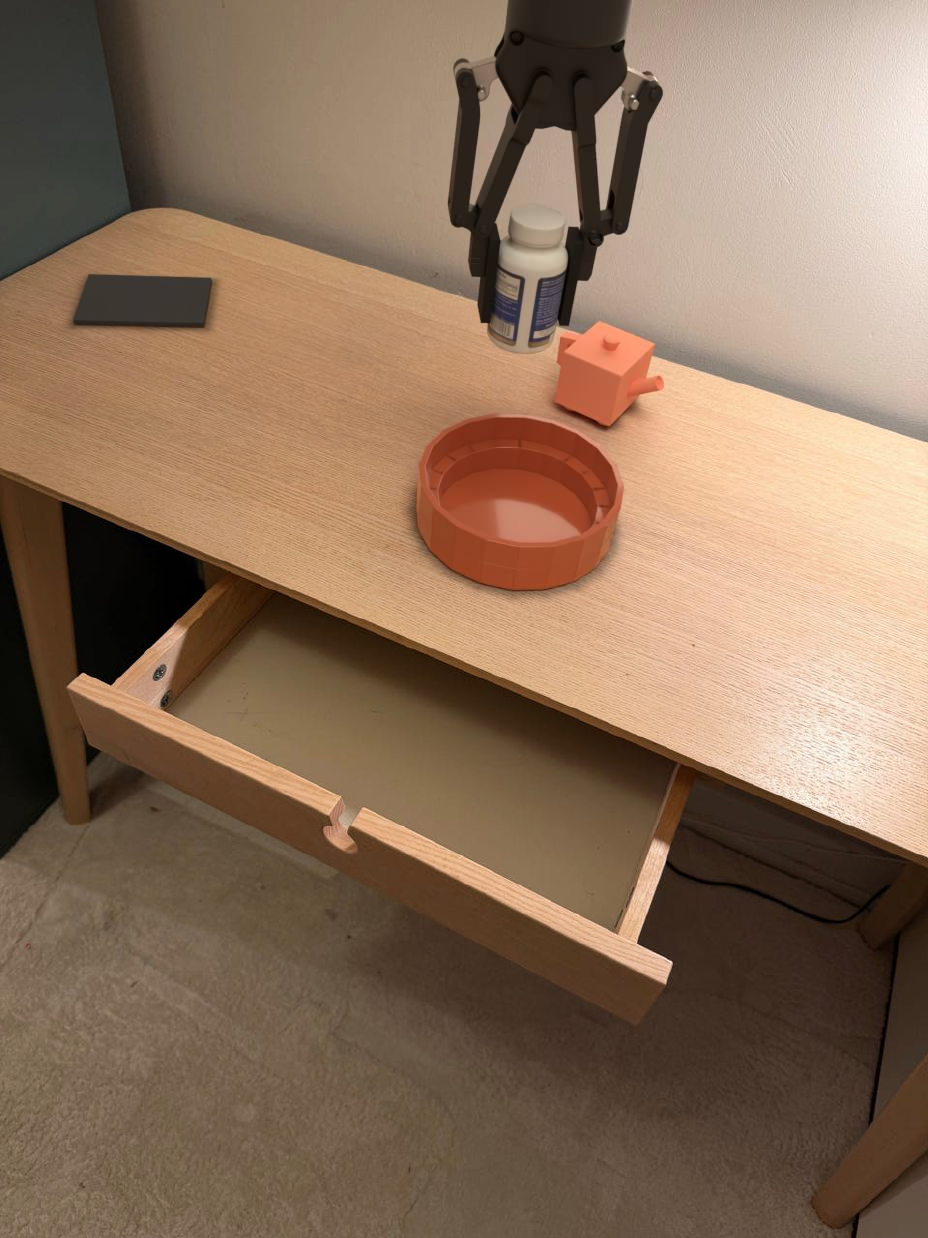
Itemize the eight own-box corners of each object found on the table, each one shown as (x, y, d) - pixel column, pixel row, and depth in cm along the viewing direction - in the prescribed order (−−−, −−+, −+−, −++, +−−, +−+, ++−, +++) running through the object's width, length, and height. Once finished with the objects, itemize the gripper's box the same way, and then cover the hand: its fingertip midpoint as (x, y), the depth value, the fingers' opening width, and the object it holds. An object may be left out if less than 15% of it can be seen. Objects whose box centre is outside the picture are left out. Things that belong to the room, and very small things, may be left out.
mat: (74, 324, 100) (72, 319, 100) (89, 278, 107) (88, 273, 106) (204, 327, 102) (203, 322, 102) (212, 281, 109) (211, 277, 108)
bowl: (423, 593, 78) (426, 547, 74) (411, 458, 90) (413, 412, 86) (629, 590, 80) (643, 546, 76) (590, 459, 92) (601, 414, 88)
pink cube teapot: (634, 446, 94) (653, 378, 88) (535, 401, 98) (547, 333, 92) (666, 411, 99) (686, 344, 92) (570, 370, 102) (584, 303, 96)
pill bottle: (550, 322, 74) (572, 201, 67) (555, 359, 70) (579, 236, 63) (484, 317, 74) (499, 195, 66) (486, 354, 70) (501, 229, 63)
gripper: (711, -50, 57) (628, 294, 74) (416, -76, 55) (401, 285, 72) (745, -15, 52) (648, 345, 69) (423, -41, 50) (406, 337, 67)
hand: (522, 314), depth 71 cm, fingers closed on pill bottle, 5 cm apart
